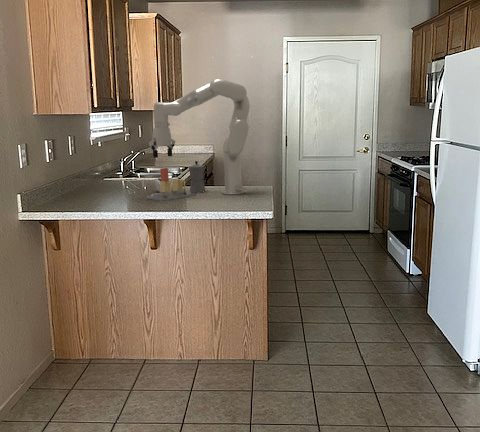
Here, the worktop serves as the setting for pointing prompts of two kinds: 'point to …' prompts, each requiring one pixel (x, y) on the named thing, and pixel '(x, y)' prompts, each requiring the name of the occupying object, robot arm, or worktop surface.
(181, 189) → the gauge plate
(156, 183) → the grey stapler
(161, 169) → the block
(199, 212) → the worktop surface
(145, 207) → the worktop surface
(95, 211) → the worktop surface
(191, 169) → the coffeepot
